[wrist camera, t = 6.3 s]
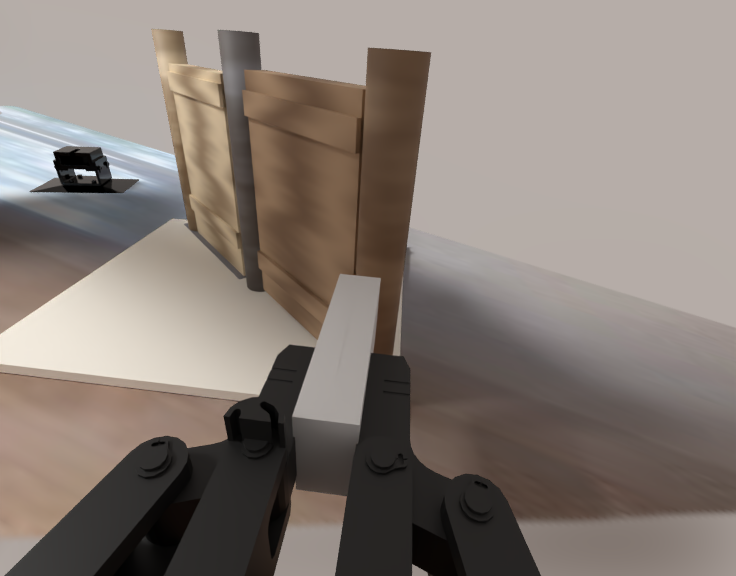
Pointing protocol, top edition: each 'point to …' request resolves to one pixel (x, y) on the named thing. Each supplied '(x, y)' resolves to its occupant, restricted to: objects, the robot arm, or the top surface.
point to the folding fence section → (336, 182)
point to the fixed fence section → (214, 144)
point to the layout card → (160, 324)
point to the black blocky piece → (71, 183)
